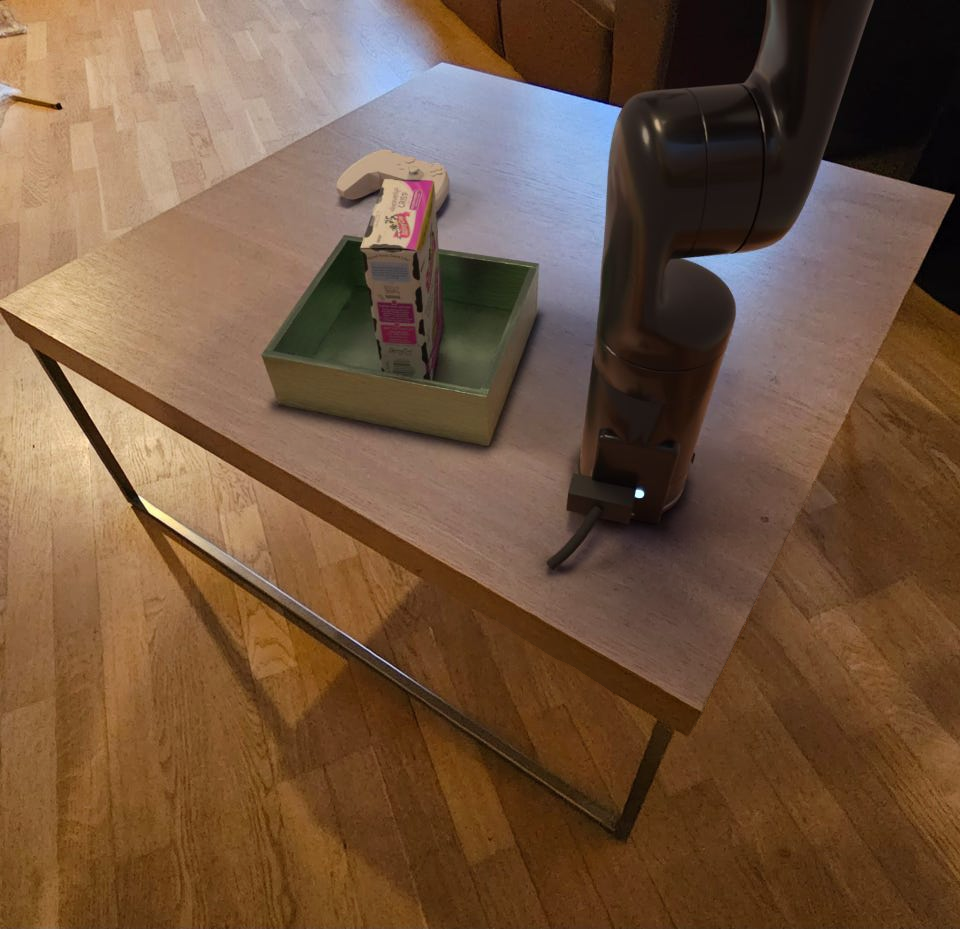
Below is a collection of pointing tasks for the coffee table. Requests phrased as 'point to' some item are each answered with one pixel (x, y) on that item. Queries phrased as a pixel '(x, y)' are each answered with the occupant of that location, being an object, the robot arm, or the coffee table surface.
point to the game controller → (390, 175)
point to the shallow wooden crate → (398, 398)
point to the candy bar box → (405, 277)
